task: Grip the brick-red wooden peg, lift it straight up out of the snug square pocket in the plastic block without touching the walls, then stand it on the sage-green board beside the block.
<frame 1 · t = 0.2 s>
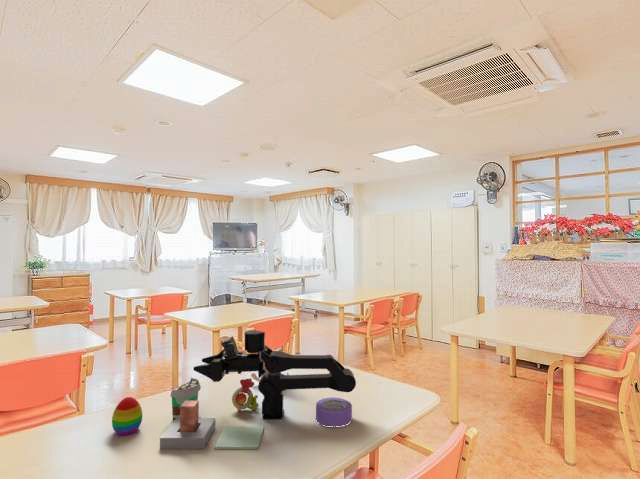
hand: (197, 364, 122), 17 cm above the table, tool horizontal, fingers open, 9 cm apart
tape roll: (333, 420, 120), on the table
food container: (189, 415, 122), on the table
peg: (189, 420, 107), in the pocket block
bird rattle: (245, 410, 126), on the table
decorative egg: (127, 431, 111), on the table
board: (240, 437, 107), on the table
kitten: (271, 383, 151), on the table
pocket block: (189, 437, 107), on the table
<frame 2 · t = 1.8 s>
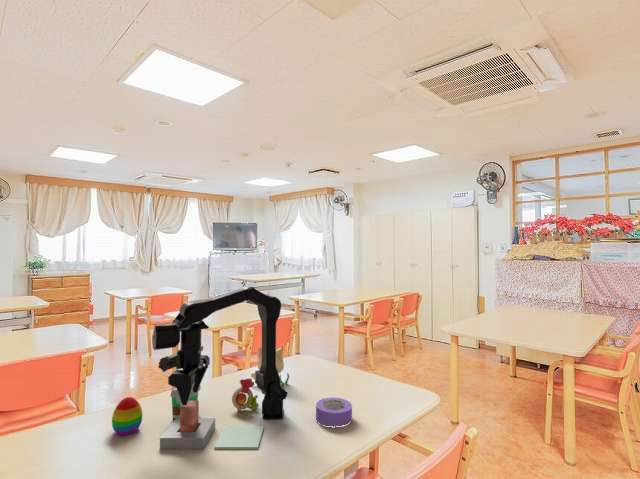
hand: (190, 398, 107), 11 cm above the table, tool pointing down, fingers open, 9 cm apart
nothing on the table moved.
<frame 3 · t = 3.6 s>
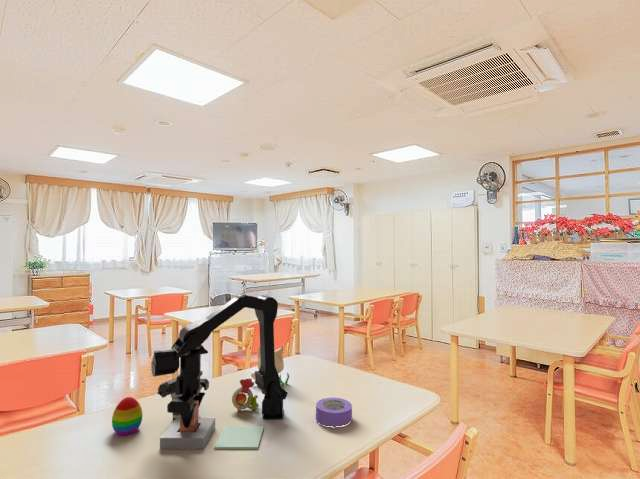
hand: (189, 423, 107), 4 cm above the table, tool pointing down, fingers closed on peg, 4 cm apart
peg: (189, 420, 107), in the pocket block, touching gripper
everything else where it was.
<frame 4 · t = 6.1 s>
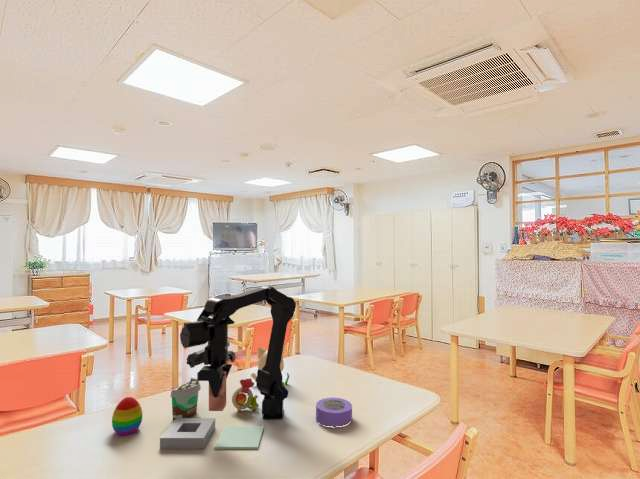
hand: (217, 394, 108), 13 cm above the table, tool pointing down, fingers closed on peg, 4 cm apart
peg: (217, 390, 108), point 14 cm above the table, touching gripper
everything else where it was.
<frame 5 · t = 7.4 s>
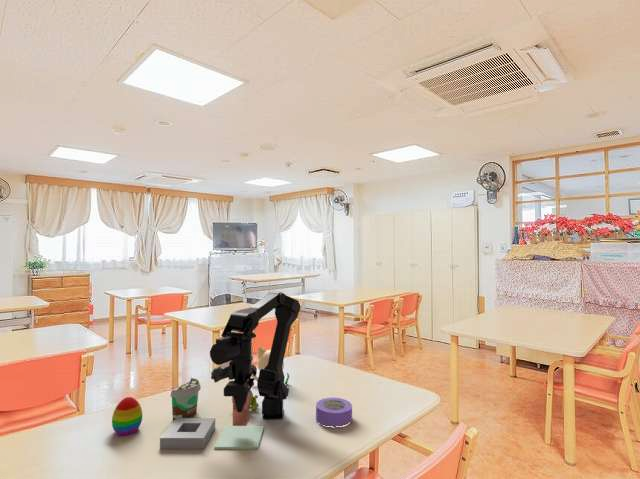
hand: (241, 408, 108), 8 cm above the table, tool pointing down, fingers closed on peg, 4 cm apart
peg: (241, 405, 108), point 9 cm above the table, touching gripper
everything else where it was.
when the fingers open (6 cm above the table, at t = 8.6 s): peg drops 1 cm, resting on board.
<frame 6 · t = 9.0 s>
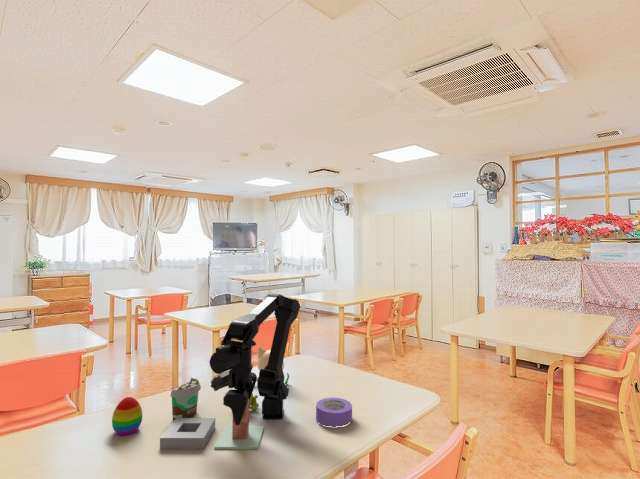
hand: (240, 417, 108), 6 cm above the table, tool pointing down, fingers open, 9 cm apart
peg: (240, 418, 108), on the board, point 6 cm above the table
everything else where it was.
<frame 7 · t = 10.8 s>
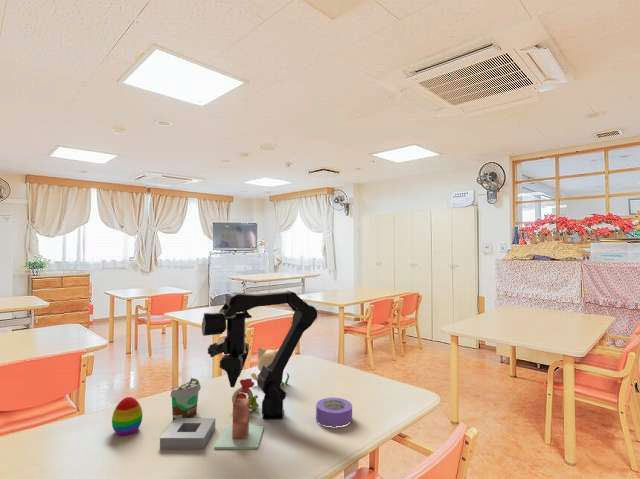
hand: (235, 381, 117), 13 cm above the table, tool pointing down, fingers open, 9 cm apart
nothing on the table moved.
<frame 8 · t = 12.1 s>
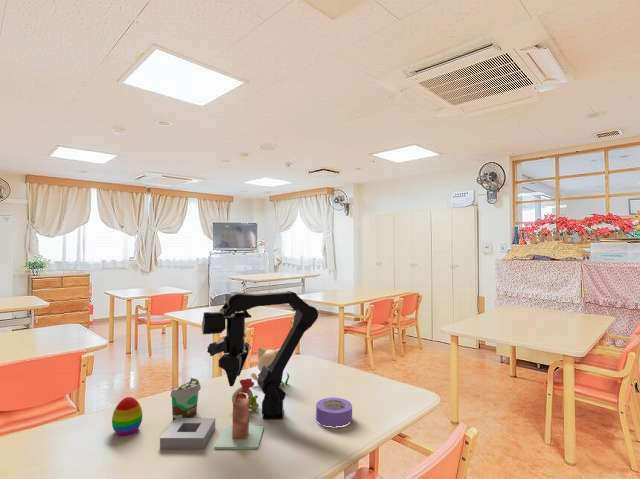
hand: (234, 380, 118), 13 cm above the table, tool pointing down, fingers open, 9 cm apart
nothing on the table moved.
at the end: peg 0.0 cm off-centre on the board, point 5.6 cm above the board's base; peg tilted 0°; the gripper is holding nothing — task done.
